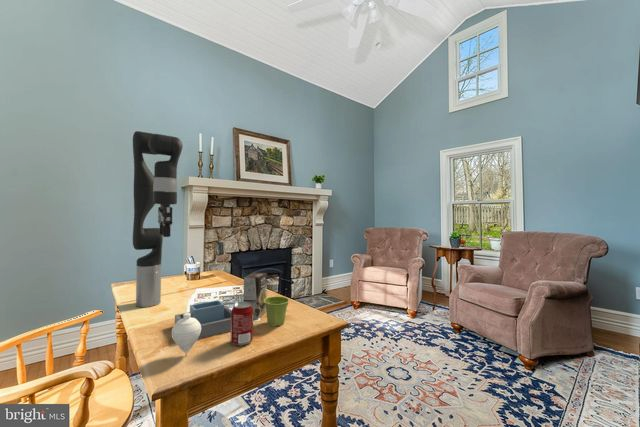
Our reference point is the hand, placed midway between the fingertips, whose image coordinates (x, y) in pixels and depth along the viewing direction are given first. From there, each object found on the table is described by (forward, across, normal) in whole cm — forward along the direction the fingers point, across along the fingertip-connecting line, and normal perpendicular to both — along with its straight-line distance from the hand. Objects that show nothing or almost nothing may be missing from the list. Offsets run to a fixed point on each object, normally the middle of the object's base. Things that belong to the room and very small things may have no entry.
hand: (164, 235), depth 100 cm
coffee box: (+32, +10, +31) cm, 46 cm away
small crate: (+31, +11, +12) cm, 35 cm away
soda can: (+32, +29, +18) cm, 47 cm away
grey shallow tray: (+32, +12, +12) cm, 36 cm away
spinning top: (+32, +28, +2) cm, 43 cm away
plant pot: (+32, +22, +34) cm, 52 cm away
